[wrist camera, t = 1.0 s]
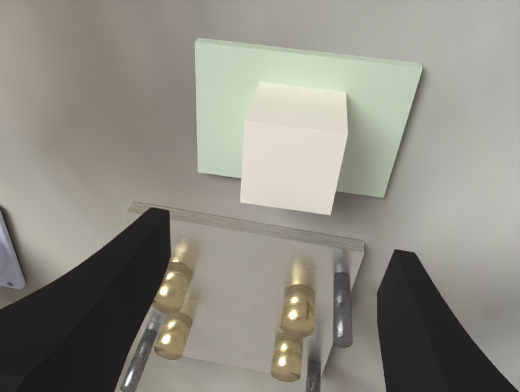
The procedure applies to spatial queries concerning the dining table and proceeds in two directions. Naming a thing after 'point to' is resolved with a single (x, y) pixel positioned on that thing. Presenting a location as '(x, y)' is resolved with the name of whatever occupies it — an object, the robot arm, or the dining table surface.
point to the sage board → (311, 68)
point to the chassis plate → (249, 297)
